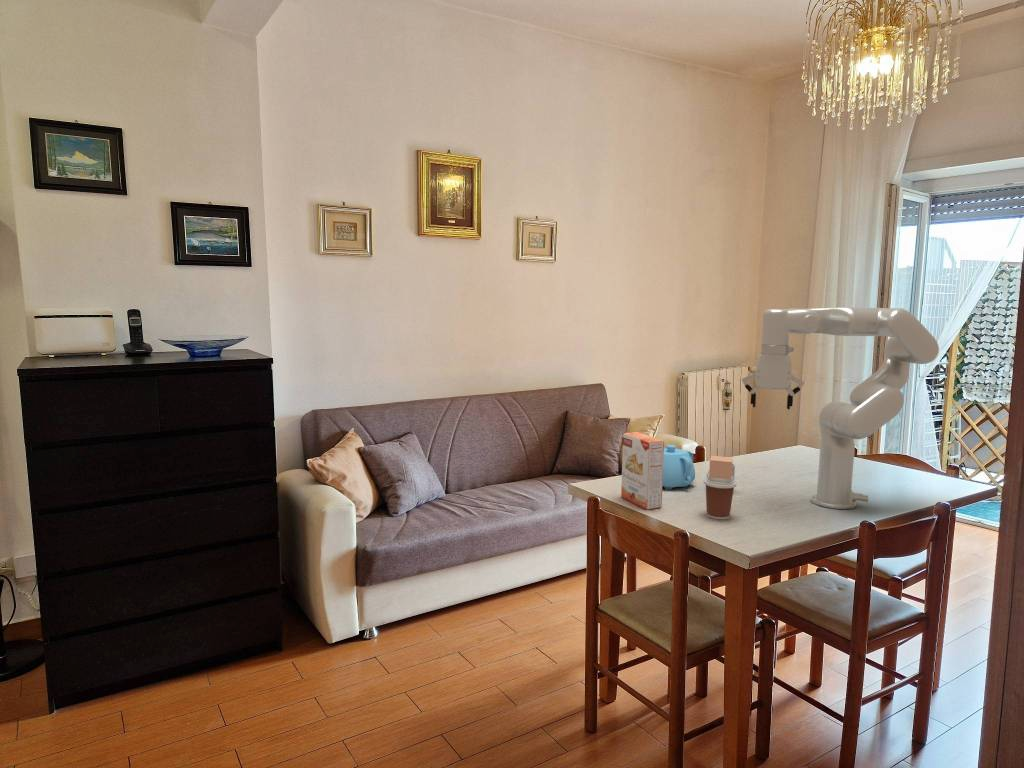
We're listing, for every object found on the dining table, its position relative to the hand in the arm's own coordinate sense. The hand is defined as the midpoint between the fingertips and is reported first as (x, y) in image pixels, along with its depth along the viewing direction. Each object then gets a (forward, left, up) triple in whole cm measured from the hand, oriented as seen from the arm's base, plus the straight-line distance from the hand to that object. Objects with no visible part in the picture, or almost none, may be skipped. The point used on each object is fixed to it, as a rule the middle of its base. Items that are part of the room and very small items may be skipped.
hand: (771, 407), depth 199 cm
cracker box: (+36, +12, -31) cm, 49 cm away
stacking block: (+13, +16, -18) cm, 28 cm away
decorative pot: (+30, -12, -31) cm, 44 cm away
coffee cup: (+13, +16, -31) cm, 37 cm away
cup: (+14, -10, -31) cm, 35 cm away
